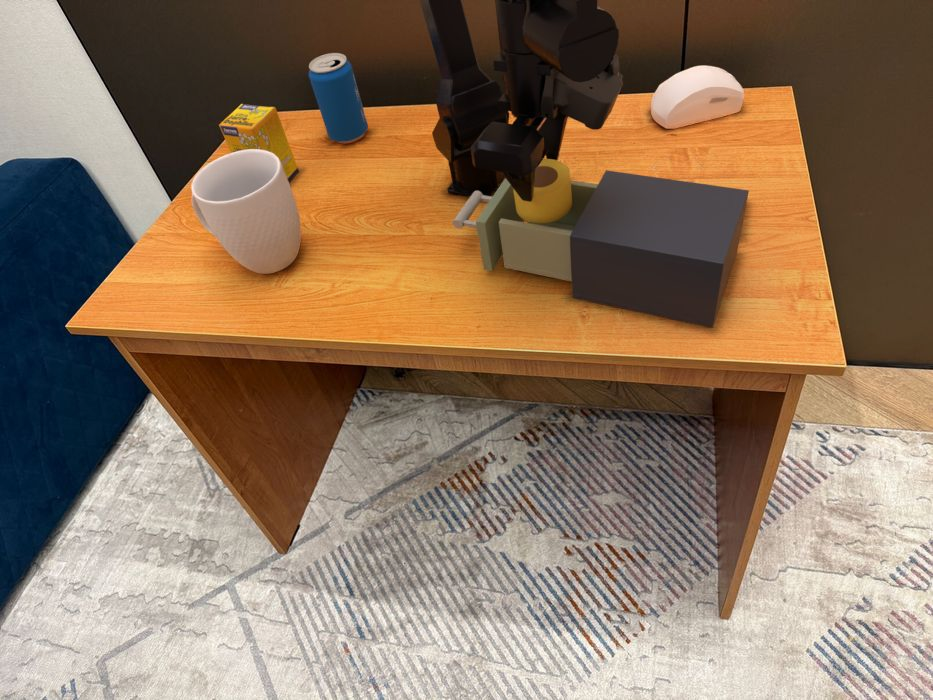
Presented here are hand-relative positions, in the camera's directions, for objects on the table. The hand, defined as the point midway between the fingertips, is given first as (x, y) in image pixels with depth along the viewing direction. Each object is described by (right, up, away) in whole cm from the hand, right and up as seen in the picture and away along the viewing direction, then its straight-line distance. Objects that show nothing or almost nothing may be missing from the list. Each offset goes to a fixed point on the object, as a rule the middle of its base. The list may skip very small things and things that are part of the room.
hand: (540, 180), depth 77 cm
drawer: (+1, -6, +8) cm, 10 cm away
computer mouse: (+25, +16, +24) cm, 38 cm away
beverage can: (-27, +15, +34) cm, 46 cm away
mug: (-35, -6, +16) cm, 39 cm away
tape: (+1, -2, +3) cm, 4 cm away
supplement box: (-37, +7, +28) cm, 47 cm away
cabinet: (+13, -10, +3) cm, 17 cm away
